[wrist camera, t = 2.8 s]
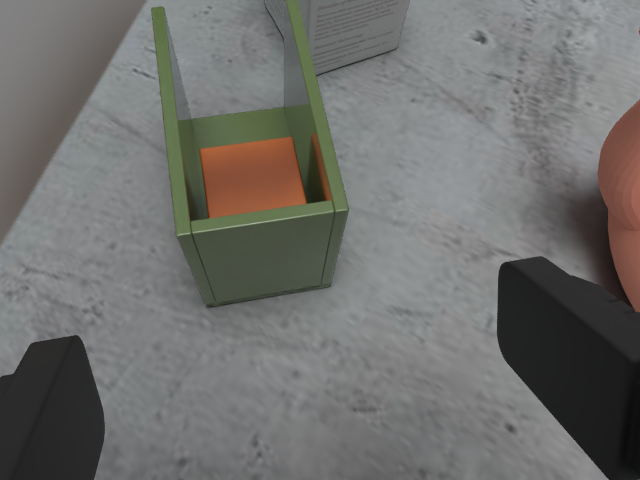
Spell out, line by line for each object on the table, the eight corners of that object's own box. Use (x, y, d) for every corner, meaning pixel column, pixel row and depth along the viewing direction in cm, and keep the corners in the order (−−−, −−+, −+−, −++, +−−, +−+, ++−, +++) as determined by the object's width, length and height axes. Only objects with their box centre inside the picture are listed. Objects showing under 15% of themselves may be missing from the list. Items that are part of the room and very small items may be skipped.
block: (306, 255, 26) (310, 218, 23) (220, 269, 26) (210, 233, 22) (291, 181, 28) (292, 135, 24) (210, 193, 27) (198, 148, 24)
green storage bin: (330, 286, 26) (349, 210, 19) (206, 308, 26) (175, 236, 18) (292, 112, 30) (296, -8, 23) (183, 126, 29) (150, 7, 22)
